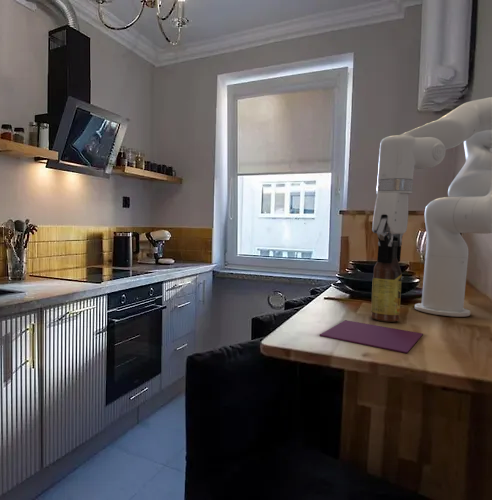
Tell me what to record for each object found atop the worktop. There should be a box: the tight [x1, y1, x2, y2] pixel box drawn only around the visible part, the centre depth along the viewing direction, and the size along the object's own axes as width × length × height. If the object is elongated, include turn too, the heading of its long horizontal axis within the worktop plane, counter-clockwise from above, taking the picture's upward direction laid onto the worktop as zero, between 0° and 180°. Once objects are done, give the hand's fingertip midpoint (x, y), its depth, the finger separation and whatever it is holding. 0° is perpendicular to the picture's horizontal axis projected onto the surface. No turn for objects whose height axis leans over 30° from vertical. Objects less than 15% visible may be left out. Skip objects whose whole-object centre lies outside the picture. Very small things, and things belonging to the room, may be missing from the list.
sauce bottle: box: [370, 241, 403, 323], centre depth 105 cm, size 6×6×20 cm
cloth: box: [319, 319, 424, 354], centre depth 91 cm, size 18×16×1 cm
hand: (388, 261), depth 105 cm, fingers closed on sauce bottle, 4 cm apart
